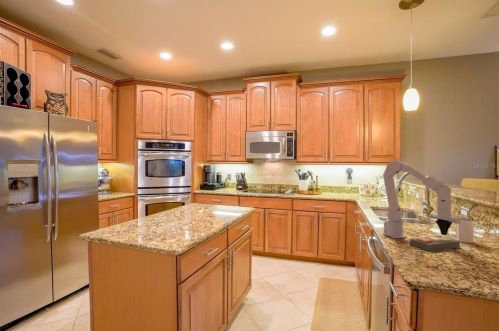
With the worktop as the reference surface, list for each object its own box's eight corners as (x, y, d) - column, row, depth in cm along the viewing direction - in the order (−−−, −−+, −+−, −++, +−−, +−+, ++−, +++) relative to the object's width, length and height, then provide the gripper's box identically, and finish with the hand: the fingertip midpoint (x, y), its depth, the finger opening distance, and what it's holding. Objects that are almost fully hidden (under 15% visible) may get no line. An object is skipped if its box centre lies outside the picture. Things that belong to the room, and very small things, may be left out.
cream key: (426, 240, 126) (426, 237, 126) (433, 239, 127) (433, 236, 127) (435, 243, 122) (435, 239, 122) (442, 242, 123) (442, 238, 123)
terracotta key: (417, 241, 125) (417, 238, 125) (423, 241, 126) (423, 237, 126) (425, 244, 120) (425, 240, 120) (432, 243, 122) (432, 240, 122)
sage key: (436, 241, 128) (436, 237, 128) (442, 240, 129) (442, 237, 129) (445, 243, 124) (445, 240, 124) (451, 243, 125) (451, 239, 125)
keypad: (410, 244, 127) (410, 238, 127) (439, 241, 132) (439, 235, 132) (428, 251, 117) (428, 244, 117) (459, 247, 123) (459, 241, 123)
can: (476, 243, 128) (476, 220, 128) (462, 243, 129) (462, 220, 129) (468, 240, 134) (468, 218, 134) (454, 239, 135) (454, 217, 136)
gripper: (465, 210, 120) (465, 237, 121) (435, 205, 134) (435, 230, 135) (454, 211, 119) (454, 239, 119) (425, 206, 133) (425, 231, 133)
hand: (443, 234), depth 126 cm, fingers closed
